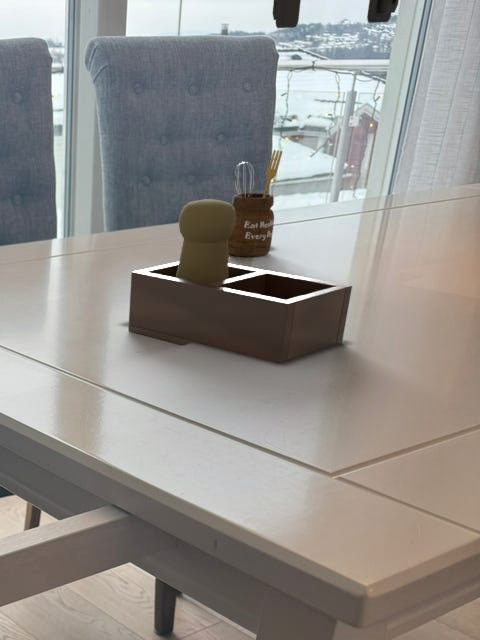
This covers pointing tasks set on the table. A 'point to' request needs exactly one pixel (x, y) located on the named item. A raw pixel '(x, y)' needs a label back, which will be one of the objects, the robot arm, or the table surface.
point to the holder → (240, 311)
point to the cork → (205, 240)
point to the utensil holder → (253, 217)
